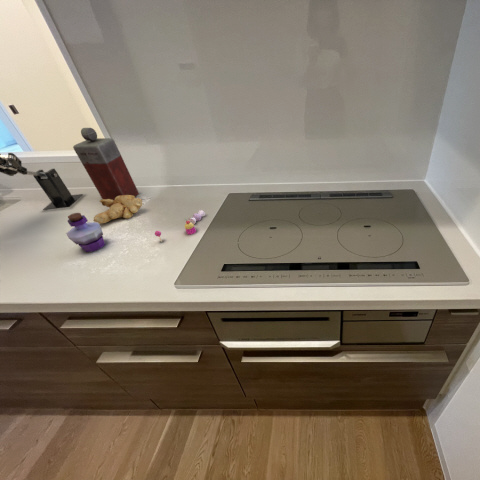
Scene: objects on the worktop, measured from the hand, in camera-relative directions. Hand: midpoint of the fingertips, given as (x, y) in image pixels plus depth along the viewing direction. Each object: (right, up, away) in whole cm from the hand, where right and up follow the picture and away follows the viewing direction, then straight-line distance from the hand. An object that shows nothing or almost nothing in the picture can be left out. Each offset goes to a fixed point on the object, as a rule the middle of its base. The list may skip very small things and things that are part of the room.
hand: (19, 172), depth 88 cm
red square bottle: (+18, -6, +21) cm, 28 cm away
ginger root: (+27, -13, +11) cm, 32 cm away
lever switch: (-2, -8, +18) cm, 20 cm away
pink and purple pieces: (+55, -19, +2) cm, 58 cm away
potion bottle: (+30, -25, -5) cm, 39 cm away
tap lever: (-1, -1, +4) cm, 4 cm away
